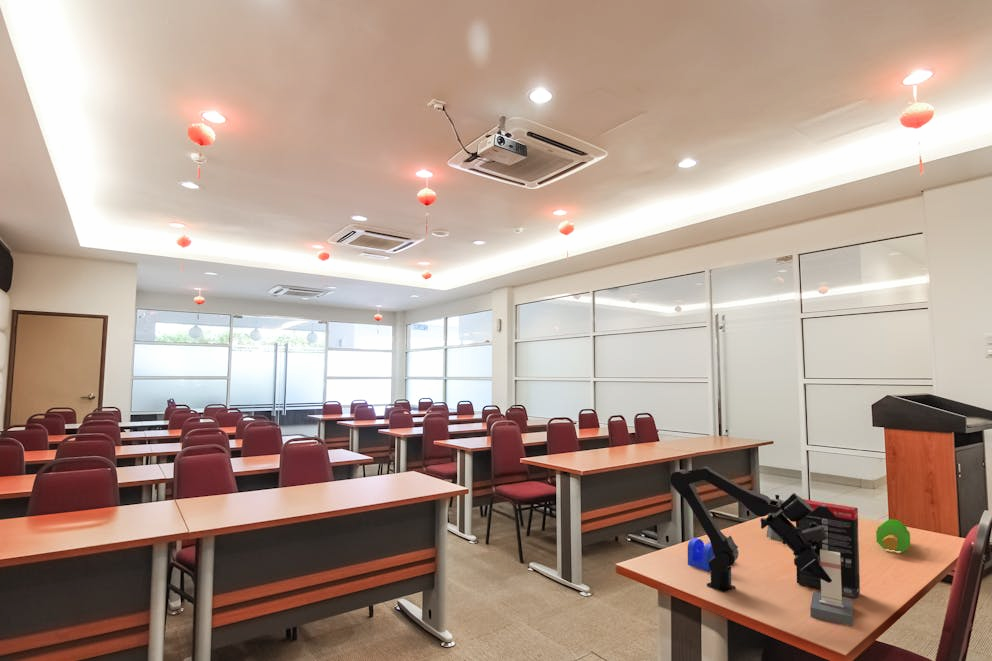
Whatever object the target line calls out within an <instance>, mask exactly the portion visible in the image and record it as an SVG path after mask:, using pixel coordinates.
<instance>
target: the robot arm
mask: <svg viewBox="0 0 992 661" xmlns="http://www.w3.org/2000/svg"><path fill="white" fill-rule="evenodd" d="M702 481H704V482H707V483H708V484H710V485H711V486H714V487H716V488H717V489H719V490H720V491H722V492H724V493H725V494H727V495H729V496H730V497H733V498H734V499H736V500H737V501H739V502H740V503H741V504H742V505H743V506H744V507H745V508H746V509H748V510H749V512H750V513H752V514H754V515H755V516H757V517H761V518H760V523H761V524H760V529H761V530H763V529H765V528H766V527H768V526H769V527H770V528H771V529H772V530H773V531H774V532H775V533H776V534H777V535H778V536H779V537H780V538H781V540H782V541H781V543H782V544H783V545H786V546H787V547H788V548H789V549H790V550H791V551H792V554H793V555H794V558H793V564H794V566H795V567H796V569H797V568H798V569H799V570H800V569H801V570H802V571H806V572H808V573H810V574H812V575H814V576H816V577H818V578H820V579H822V580H824V581H826V582H828V583H830V582H832V580H831V578H830V577H829V575H828V574H827V573H826V571H825V570H824V569H823V567H822V566H821V565H820V549H821V544H819V541H820V540H822V541H823V540H826V539H827V534H826V532H825V531H824V528H823V527H822V526H821V525H818V524H816V523H815V522H814V523H810V529H809V528H808V529H807V530H802V529H801V528H798V527H797V528H796V525H794V524H793V523H796V522H800V521H801V520H802V519H804V518H805V517H806V516H808V515H809V514H810V513H811V512H813V509H812V508H811V506H810V505H809V504H808V503H807V502H806V501H805V500H803V498H802V497H800V496H799V495H797V494H796V493H795V492H793V493H792V494H790V496H789V497H788V498H787V499H785V500H783V501H784V502H779V501H775V500H771V497H769V496H767V494H763V493H760V492H758V491H755V490H752V489H748V488H745V487H743V486H742V485H740V484H738V483H736V482H734V481H733V480H731V479H730V478H728V477H725V476H724V475H722V474H720V473H718V472H717V471H714V470H713V469H712V468H711V467H710V466H703V467H700V468H696V469H690V470H686V469H684V468H683V469H679V470H677V471H674V472H673V473H671V475H670V478H669V482H670V485H671V486H672V487H673V488H674V489H675V492H676V493H678V494H679V495H680V496H681V497H682V498H683V499H684V500H685V501H686V502H687V504H688V505H689V507H690V509H691V511H692V513H693V514H694V516H695V518H696V519H697V521H698V522H699V523H700V526H701V528H702V529H703V531H704V532H705V534H706V535H707V537H708V539H709V542H710V543H711V546H712V550H713V553H714V557H713V558H712V559H711V560H710V561H709V562H708V564H709V567H710V569H711V571H710V582H707V583H706V586H707V587H709V588H712V589H715V590H718V591H720V592H723V593H726V592H728V591H731V590H732V591H733V590H734V589H737V587H736V586H735V585H733V584H732V567H731V566H733V565H734V563H735V562H736V561H737V559H738V557H739V550H738V548H739V545H737V544H736V543H735V541H734V539H733V537H732V536H731V535H729V536H726V535H725V534H724V533H722V532H723V531H721V529H720V528H719V526H718V525H717V524H718V523H717V522H716V520H714V518H713V516H712V515H711V513H710V512H709V510H708V508H707V507H706V505H705V503H704V501H703V500H702V498H701V496H700V495H699V494H698V490H697V487H696V483H697V482H702ZM780 509H781V510H782V511H780V512H779V513H778V514H776V515H775V514H773V513H777V512H778V511H779V510H780ZM769 513H772V514H771V515H769V516H768V514H769ZM782 513H783V514H784V515H785V516H786V517H787V518H788V519H787V518H786V517H785V516H784V515H783V514H782ZM763 517H764V518H763ZM765 517H766V518H765ZM791 521H792V522H793V523H792V522H791ZM795 521H796V522H795ZM816 544H817V545H818V544H819V545H818V546H815V545H816Z"/></svg>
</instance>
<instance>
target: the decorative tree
mask: <svg viewBox="0 0 992 661" xmlns="http://www.w3.org/2000/svg"><path fill="white" fill-rule="evenodd" d="M875 538H876V543H877V544H878V545H879V546H880V547H882V549H883V550H884V549H889V550H895V551H901V552H902V553H903V552H905V551H907V550H908V549H909V548H910V544H911V532H910V531H909V530H908V529H907V526H906V525H905V524H904V523H903V522H902V521H900V520H899V519H897V520H896V519H891V518H889V519H887V520H886V521H884V522H883V523H882V524H881V525H879V526H878V527H877V528H876V537H875Z"/></svg>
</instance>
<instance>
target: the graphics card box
mask: <svg viewBox="0 0 992 661" xmlns="http://www.w3.org/2000/svg"><path fill="white" fill-rule="evenodd" d="M802 499H803V498H802ZM803 500H805V501H806V502H807V503H808V504H809V505H810V506H811V508H812V509H813V512H811V513H810V514H809V515H808V516H806V517H805V518H804V519H802V520H801V521H800V522H795V527H796V528H797V527H798V528H801V529H802V530H807V529H808V528H809V529H810V523H814V522H815V523H816V524H818V525H821V526H822V527H823V528H824V531H825V532H826V534H827V539H826V540H823V541H822V540H820V541H819V544H821V550H827V551H833V552H839V553H840V562H841V590H842V596H845V597H849V598H851V599H858V597H859V595H860V593H861V587H860V586H861V583H860V582H861V581H860V580H861V579H860V551H859V550H860V548H859V546H860V545H859V544H860V543H859V514H858V513H859V509H858V507H854V506H848V505H842V504H837V503H836V504H835V503H831V502H825V501H823V502H822V501H818V500H817V501H816V500H810V499H805V498H804V499H803ZM819 544H818V545H819ZM818 545H817V544H816V545H815V546H818ZM796 583H797V584H800V585H804V586H806V587H807V586H808V587H810V588H814V589H818V590H821V579H820V578H818V577H816V576H814V575H812V574H810V573H808V572H806V571H802V570H801V569H800V570H799V569H798V568H797V567H796Z"/></svg>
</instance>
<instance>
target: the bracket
mask: <svg viewBox="0 0 992 661" xmlns="http://www.w3.org/2000/svg"><path fill="white" fill-rule="evenodd" d="M713 557H714V553H713V550H712V546H711V542H710V541H709V542H707V543H704V541H703V540H702V539H700V538H697V537H691V539H690V540H689V541H688V544H687V565H689V566H691V567H694V568H697V569H700V570H702V571H705V572H708V571H709V572H711V569H710V567H709V564H708V562H709V561H710V560H711V559H712V558H713Z"/></svg>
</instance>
